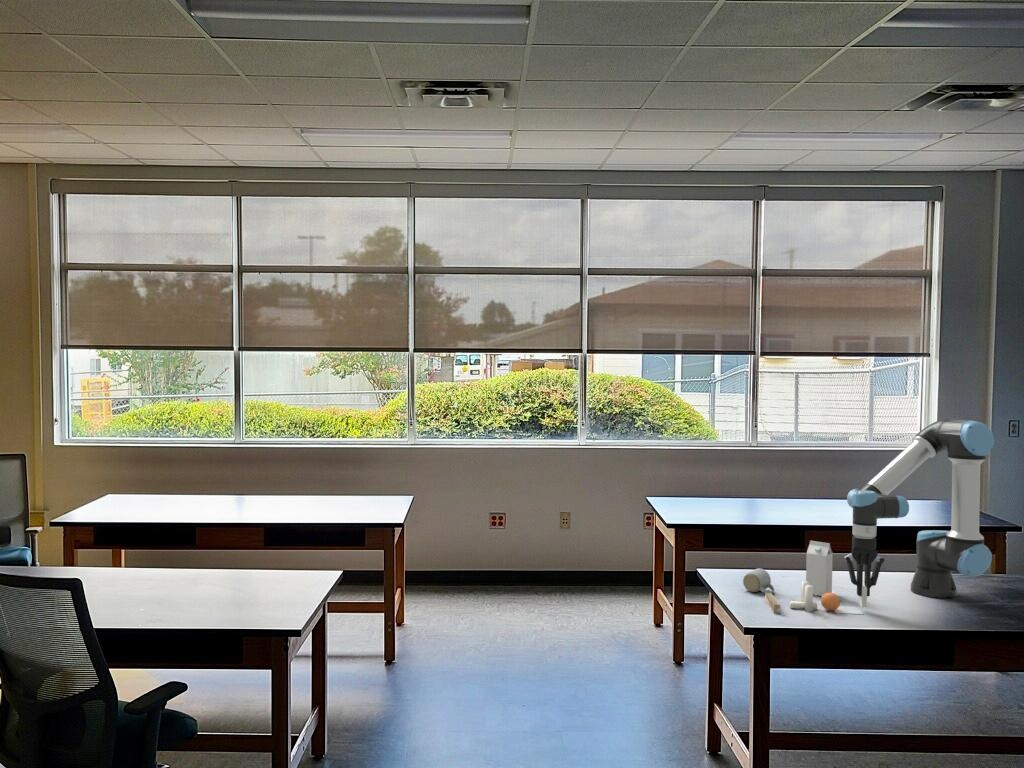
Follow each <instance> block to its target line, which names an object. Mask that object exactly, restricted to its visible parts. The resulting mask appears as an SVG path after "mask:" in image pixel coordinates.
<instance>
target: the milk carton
mask: <svg viewBox="0 0 1024 768" xmlns="http://www.w3.org/2000/svg"><path fill="white" fill-rule="evenodd" d="M833 557H834V556H833V551H832V548H831V543H829V542H822V541H815V540H809V544H808V546H807V550H806V560H805V561H806V567H805V568H806V572H805V574H806V575H805V581H807V582H809V585H811V586H813V594H814V595H813V596H817V595H818V596H819V597H822V596H823V595H824V594H826V593H833ZM818 596H817V597H818Z"/></svg>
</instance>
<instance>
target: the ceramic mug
mask: <svg viewBox="0 0 1024 768" xmlns="http://www.w3.org/2000/svg"><path fill="white" fill-rule="evenodd" d="M742 582H743V586H744V588H745V589H746V590H747V591H748V592H751V593H758V592H762V593H764V594H765V593H771V594H772V595H773V594H774V593H775V589H776V588H775V587H774V586H773V585H772V584H771V582H772V581H771V575H770V573H768V571H767V570H765V569H764V568H762V567H761V568H755V569H753V570H751V571H750V572H748V573H746V574H745V575H744V577H743V579H742ZM768 588H769V589H770V590H767V589H768Z"/></svg>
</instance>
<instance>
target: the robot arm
mask: <svg viewBox="0 0 1024 768" xmlns="http://www.w3.org/2000/svg"><path fill="white" fill-rule="evenodd" d="M994 446H995V438H994V435H993V432H992V429H991V428H990V427H988V426H987V425H986V423H983V422H980V421H975V420H969V419H968V420H965V419H953V418H951V419H950V418H945V419H944V418H943V419H939V420H936V421H933V423H931V424H929V425H927V426H925V427H924V428H922V429H921V430H920V431H919V432H917V433H916V434H915V435H914V436H913V437H912V438H911V443H910V444H909V445H908V446H906V448H904V449H903V450H902V451H901V452H900V453H899V454H898V455H897V456H896V457H894V458H893V459H892V460H891V461H890V462H889V463H888V464H886V466H885V467H884V468H882V469H881V470H880V471H879V472H878V473H877V474H876V475H875V476H874V477H873V478H871V479H870V480H869V481H868V482H867V483H866V484H865V485H864V486H863V487H861V488H854V489H851V490H850V491H849V492H848V494H847V496H846V497H847V498H846V501H847V504H848V506H849V507H850V508H852V528H851V529H852V540H851V550H850V553H849V554H846V555H843V559H844V560H845V562H846V566H847V570H848V574H849V579H850V582H851V583H852V584H853V585H854V586H856V595H857V596H859V605H860V606H861V607H865V608H866V607H868V606H867V604H868V597H870V595H871V587H875V586H876V585H877V581H878V580H879V579H878V578H879V575H880V572H881V571H880V570H881V567H882V565H883V563H884V562H885V558H884V557H882V556H879V554H878V551H877V538H876V537H877V526H878V520H879V519H899V518H900V519H901V518H905V517H907V515H908V514H909V512H910V504H909V502H908V499H907V498H906V497H904V496H902V495H896V494H895V495H889V494H890V493H891V492H893V491H894V490H895V489H896V488H897V487H899V485H901V483H903V482H904V481H905V480H906V479H907V478H908V477H909V476H910V475H911V474H912V473H913V472H915V471H916V470H918V468H919V467H920V466H921V465H922V464H923V463H925V461H926V460H928V458H932V459H933V458H935V456H937V455H938V454H939V453H942V452H947V459H948V460H949V461H950V462H951V466H952V468H951V471H952V472H951V515H950V518H951V520H950V521H951V523H950V525H951V527H950V528H951V529H950V530H941V529H940V530H938V529H937V530H936V529H933V530H931V529H930V530H929V529H928V530H921V531H918V533H917V534H916V535H917V537H916V542H915V543H916V565H915V566H916V569H915V572H914V575H913V577H912V579H911V583H910V591H911V592H912V593H914V594H917V595H920V596H923V597H928V596H929V598H935V597H939V598H938V599H947V598H946V597H953V598H955V597H954V596H956V595H957V596H958V589H957V586H956V582H955V580H954V575H953V572H955V573H958V574H961V575H963V576H969V577H978V576H982V575H983V574H984V573H986V571H987V570H989V568H990V567H991V564H992V561H993V560H992V558H993V554H992V552H991V550H990V549H989V547H988V546H987V545H985V537H984V535H982V534H981V533H980V509H981V508H980V506H981V505H980V504H981V501H980V500H981V465H982V464H983V463H984V462H985V461H986V458H987V455H989V454H990V453H991V452H992V450H993V449H994ZM853 559H854V561H855V562H856V563H855V564H856V572H855V568H854V564H853ZM874 561H875V562H874ZM873 562H874V564H873V565H874V566H873V569H872V563H873ZM871 569H872V570H871ZM871 571H872V572H871ZM863 575H864V576H863ZM863 577H864V578H863ZM863 579H864V580H863ZM863 582H864V584H863ZM957 596H956V597H957Z"/></svg>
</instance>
